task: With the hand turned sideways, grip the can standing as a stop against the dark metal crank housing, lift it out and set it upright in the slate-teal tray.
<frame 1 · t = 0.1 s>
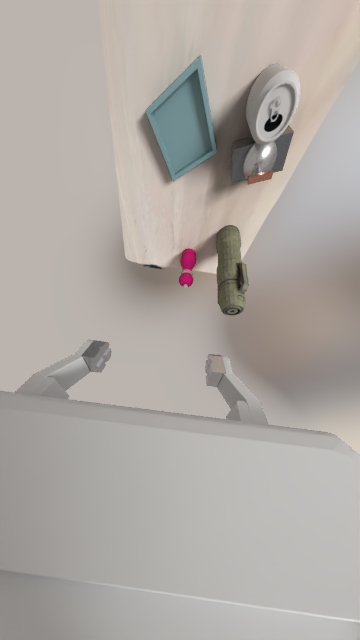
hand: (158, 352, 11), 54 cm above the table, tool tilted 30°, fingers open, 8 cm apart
tray: (184, 129, 34), on the table
crank housing: (256, 152, 36), on the table
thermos: (227, 235, 56), on the table
can: (264, 99, 29), on the table
pepper mill: (189, 254, 66), on the table
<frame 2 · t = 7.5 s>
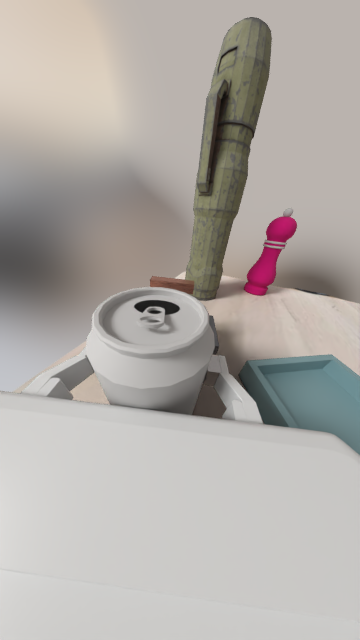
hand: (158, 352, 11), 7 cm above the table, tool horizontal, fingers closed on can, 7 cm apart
tray: (323, 424, 14), on the table
crank housing: (167, 349, 21), on the table
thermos: (199, 293, 38), on the table
can: (157, 403, 15), on the table, touching gripper
pepper mill: (254, 291, 43), on the table
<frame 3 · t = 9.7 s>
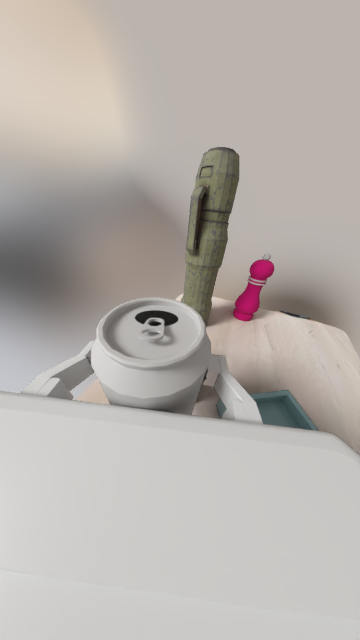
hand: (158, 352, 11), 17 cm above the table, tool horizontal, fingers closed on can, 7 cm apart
tray: (271, 447, 20), on the table
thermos: (193, 320, 44), on the table
can: (157, 406, 15), point 9 cm above the table, touching gripper
pepper mill: (241, 316, 48), on the table
when the fingers open (10 cm above the table, at t = 12.9 s): can stays where it is, resting on tray.
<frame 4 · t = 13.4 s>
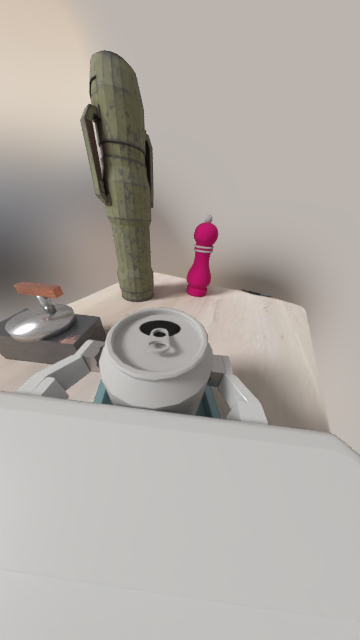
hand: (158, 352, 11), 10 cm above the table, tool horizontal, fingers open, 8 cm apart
tray: (157, 413, 16), on the table
crank housing: (61, 348, 23), on the table
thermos: (137, 295, 40), on the table
can: (159, 411, 16), point 1 cm above the table, touching gripper, tray
pepper mill: (196, 293, 45), on the table
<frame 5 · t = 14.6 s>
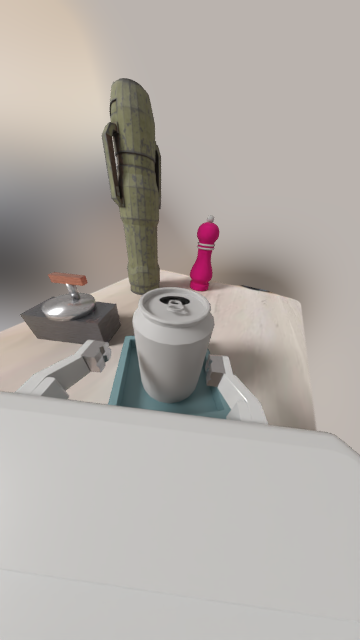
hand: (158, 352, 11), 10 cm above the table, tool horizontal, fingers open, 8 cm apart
tray: (167, 380, 20), on the table
crank housing: (82, 331, 26), on the table
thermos: (145, 289, 44), on the table
can: (170, 377, 19), point 1 cm above the table, touching tray
pepper mill: (198, 287, 48), on the table
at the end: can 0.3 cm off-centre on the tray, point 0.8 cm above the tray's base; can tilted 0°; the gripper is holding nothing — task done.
